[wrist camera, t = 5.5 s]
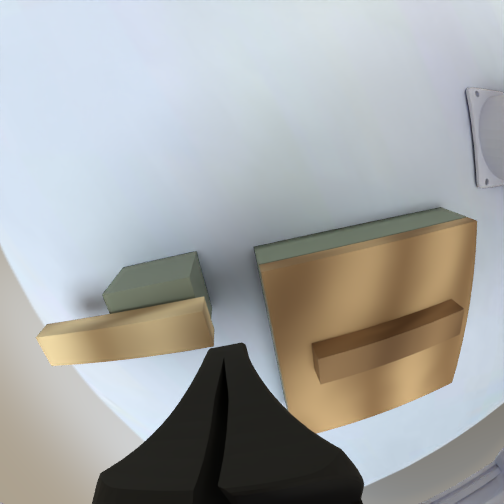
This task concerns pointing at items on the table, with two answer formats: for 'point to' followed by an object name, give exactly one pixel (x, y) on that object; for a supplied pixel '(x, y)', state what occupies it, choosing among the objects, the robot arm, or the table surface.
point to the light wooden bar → (129, 334)
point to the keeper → (157, 284)
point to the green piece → (347, 240)
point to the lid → (370, 321)
